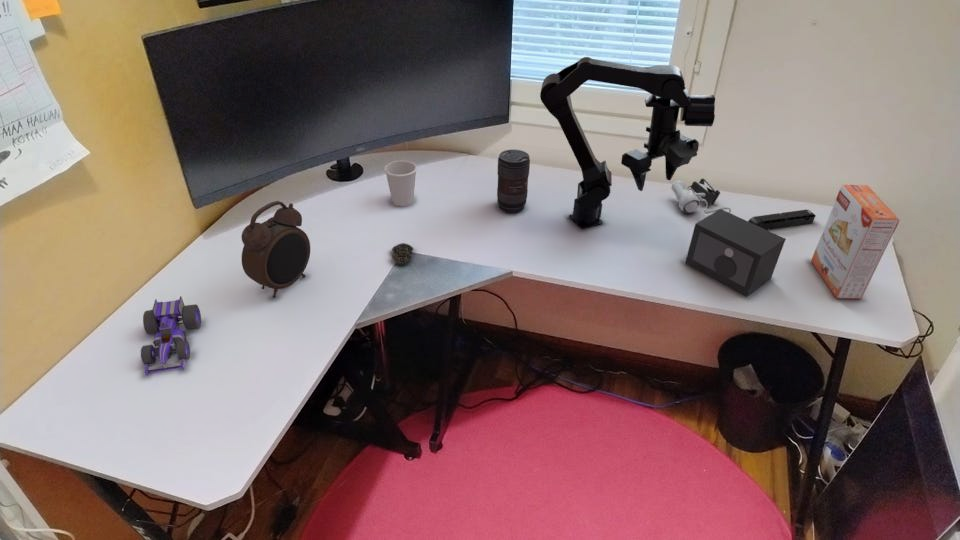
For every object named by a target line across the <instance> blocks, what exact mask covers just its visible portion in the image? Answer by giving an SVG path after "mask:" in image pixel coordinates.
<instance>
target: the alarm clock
mask: <svg viewBox="0 0 960 540" xmlns="http://www.w3.org/2000/svg"><path fill="white" fill-rule="evenodd" d="M275 206H280V208H278V209H276V211H275V213H274V215H273V216H271V217H270V218H268V219H267V220H265V221H263V222H257V219H258V217H259V216H260V215H262V214H263V213H264V212H265V211H267V210H269V209H271V208H272V207H275ZM302 224H303V216H302V214H301V213H300V211H298V210H297V209H295V208H294V204H293V203H291V202H290V203H288V206H287V205H286V204H284V202H282V201H280V200H275V201H271V202H269V203H267V204H265V205H263V206H262V207H260V208H259V209H257V210H256V211H255V212H254V213H253V215H252V216H251V219H250V222H249V224H248V225H246V227H244V229H243V230H242V233H241V242H242V244H243V248H242V251H241V266H242V271H243V272H244V273H245V275H246V276H247V277H248V278H249V279H251V280H253V281H254V282H255V283H257V284H259V285H261V288H260V289H261V290H265V287H266V288H269V289H271V290H273V295H272V298H273V299H275V298H277V296H276V295H277V293H278V290H283V289H287V288H289V287H290V286H292V285H293V284H295V283H296V281H298V280H299V279H300V278H301V277H302V278H306V274H304V272H305V270H306V268H307V266H308V263H309V262H310V257H311V243H310V238H309V236H308V234H307V233H306V232H305V231H304V230H303V229H302V228H300V227H301V226H302Z"/></svg>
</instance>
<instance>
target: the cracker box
mask: <svg viewBox="0 0 960 540" xmlns="http://www.w3.org/2000/svg"><path fill="white" fill-rule="evenodd" d="M839 188H840V189H839V191H838V193H837V196H836V198H835V201H834V203H833V205H832V208H831V211H830V213H829V216H828V218H827V221H826V223H825V225H824V228H823V229H822V233H821V235H820V237H819V240H818V242H817V245H816V247H815V249H814V252H813V255H812V257H811V259H810V262H811V263H812V265H813V266H814V268H815V269H816V271H817V272H818V274H819V275H820V277H821V278H822V280H823V281H824V283H825V284H826V286H827V288H828V289H829V290H830V292H831V293H832V295H833V296H834V298H835V299H843V300H844V299H850V300H852V299H853V300H861V299H863V296H864V294H865V292H866V290H867V288H868V286H869V284H870V282H871V280H872V278H873V276H874V274H875V272H876V269H877V268H878V266H879V264H880V262H881V260H882V257H883V255H884V253H885V251H886V250H887V248H888V245H889V243H890V242H891V239H892V238H893V235H894V233H895V231H896V229H897V227H898V225H899V223H900V221H901V219H900V218H899V217H898V216H897V214H896V213H895V212H894V211H892V209H891V208H890V207H889V206H888V205H887V204H886V203H885V202H884V201H883V200H882V198H880V197H879V196H878V195H877V194H876V193H875V191H874V190H873V189H871V187H870V186H869V185H868V184H841V186H840V187H839Z"/></svg>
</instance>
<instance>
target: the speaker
mask: <svg viewBox="0 0 960 540" xmlns="http://www.w3.org/2000/svg"><path fill="white" fill-rule="evenodd" d="M719 209H720V208H719ZM748 221H749V220H745V219H743V218H741V217H740V216H737V215H736V214H733V213H732V212H730V213H729V211H727V210H725V209H723V210H722V209H720V210H718V211H716V212H712V213H710V214H709V215H708V216H706V217H704V218H703V219H701V220H699V221H697V222H695V224H694V228H693V232H692V234H691V238H690V242H689V246H688V250H687V254H686V258H685V262H684V263H685V264H686V265H688V266H690V267H691V268H693V269H695V270H697V271H699V272H701V273H702V274H705V275H706V276H708V277H710V278H711V279H714V280H715V281H717V282H719V283H721V284H722V285H725V286H727V287H728V288H730V289H732V290H734V291H736V292H737V293H739V294H741V295H743V296H745V297H749V296H750V295H751V294H753V293H754V292H755V291H757V290H758V289H759V288H761V287H762V286H763V285H765V284H766V283H767V282H769V281H770V280H771V279H772V277H773V275H774V272H775V269H776V266H777V264H778V260H779V258H780V255H781V252H782V250H783V248H784V245H785V242H786V238H785V237H783V236H781V235H778V234H777V233H774V232H772V231H770V230H765V229H763V228H761V227H759V226H757V225H755V224H752V223H750V222H748Z"/></svg>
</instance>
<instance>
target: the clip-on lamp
mask: <svg viewBox="0 0 960 540" xmlns="http://www.w3.org/2000/svg"><path fill="white" fill-rule="evenodd" d="M670 187H671V189H670V190H672V192H673V194H674V195H675V197H676V198H677V200H678V207H679V209H680V210H681V212H683V213H685V214H688V213H693V212H695V211H697V209H698V208H699V206H700V203H701V202H700V201H702V202H703V201H704V202H705V208H704V212H703V213H704V214H713V213H714V212H716V211H718V210H720V209H722V210H728V212H729V213H732V209H731V208H730V207H722V208H721V207H720V208H717V209H713V210H709V211H707V209H708V207H710V206H711V205H715V203H716V202H717V199H718V198H719V196H720V194H721V192H720V190H719V189H717V190H715V189H714V188H713V186H712V185H710V183H709V182H708V181H707V180H706V179H705V178H701V179H700V180H699V181H698V182H697V181H696V180H695V181H693V182H692V184H690V185H688V186H687V185H686V184H685V182H684V181H683V180H680V179H677V180H675V181H673V183H672V184H671V186H670ZM691 192H692V193H691Z"/></svg>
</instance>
